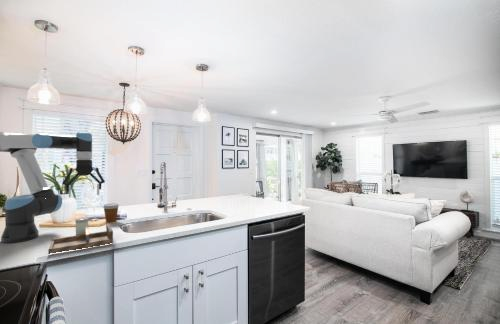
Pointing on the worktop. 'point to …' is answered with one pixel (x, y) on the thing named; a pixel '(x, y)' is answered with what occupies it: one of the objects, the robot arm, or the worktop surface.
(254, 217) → the worktop surface
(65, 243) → the brown wooden tray
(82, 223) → the jar
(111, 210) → the disposable coffee cup
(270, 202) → the worktop surface
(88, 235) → the pusher
